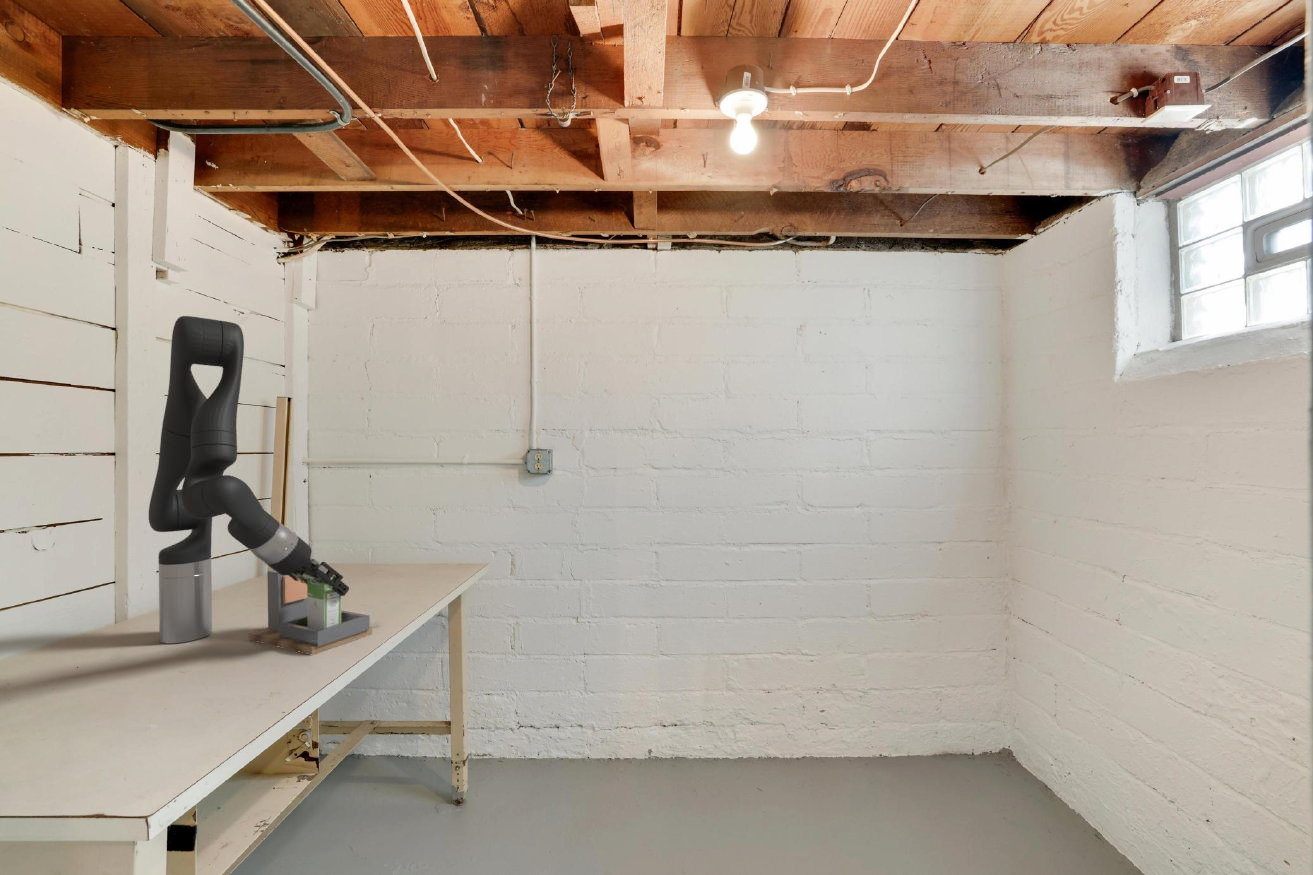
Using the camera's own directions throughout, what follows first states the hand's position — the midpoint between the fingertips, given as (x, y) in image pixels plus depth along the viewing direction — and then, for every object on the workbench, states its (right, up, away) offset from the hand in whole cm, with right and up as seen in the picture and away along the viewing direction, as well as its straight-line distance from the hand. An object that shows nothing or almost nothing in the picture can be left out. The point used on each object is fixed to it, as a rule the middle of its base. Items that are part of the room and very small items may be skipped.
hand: (333, 590), depth 129 cm
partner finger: (-12, -9, +4) cm, 16 cm away
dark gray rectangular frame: (-3, -9, 0) cm, 10 cm away
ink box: (-1, -9, -2) cm, 9 cm away
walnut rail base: (-5, -11, 0) cm, 12 cm away
